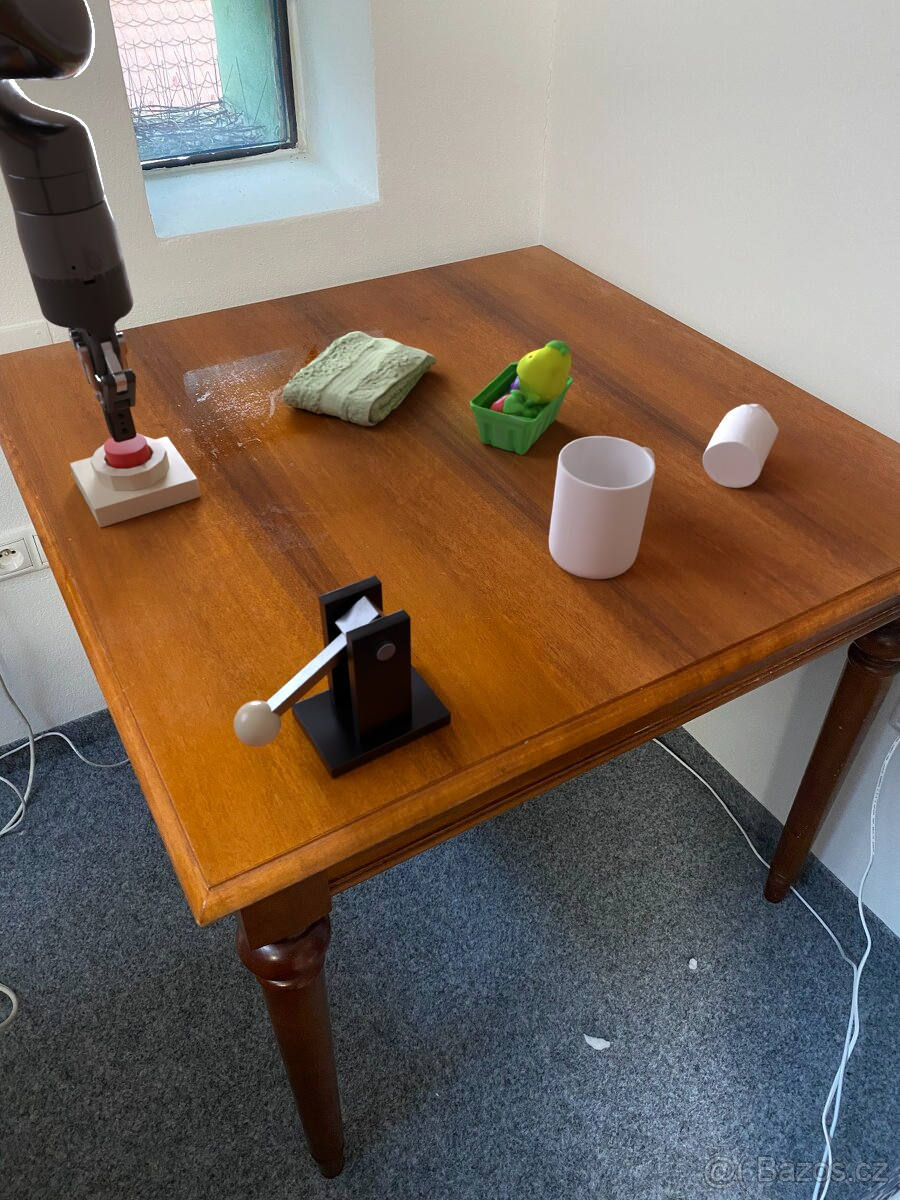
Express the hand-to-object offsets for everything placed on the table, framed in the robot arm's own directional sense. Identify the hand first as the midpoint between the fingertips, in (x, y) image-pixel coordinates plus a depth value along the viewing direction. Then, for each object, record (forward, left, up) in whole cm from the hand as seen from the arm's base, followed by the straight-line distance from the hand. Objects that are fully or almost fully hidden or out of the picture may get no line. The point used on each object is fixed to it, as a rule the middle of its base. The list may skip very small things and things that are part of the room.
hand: (123, 437), depth 84 cm
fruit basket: (+40, -11, -6) cm, 42 cm away
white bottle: (+57, -27, -6) cm, 63 cm away
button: (0, 0, -2) cm, 2 cm away
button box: (0, 0, -6) cm, 6 cm away
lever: (+2, -39, 0) cm, 39 cm away
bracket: (+6, -39, -6) cm, 39 cm away
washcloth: (+29, +7, -6) cm, 30 cm away
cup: (+35, -31, -6) cm, 47 cm away
